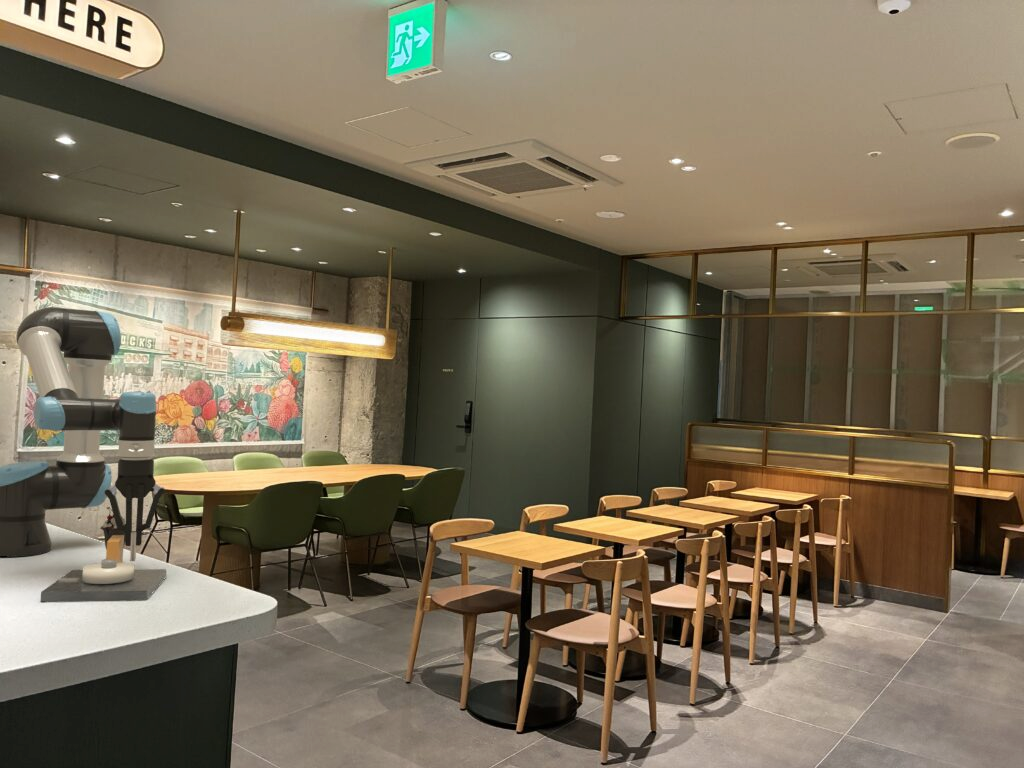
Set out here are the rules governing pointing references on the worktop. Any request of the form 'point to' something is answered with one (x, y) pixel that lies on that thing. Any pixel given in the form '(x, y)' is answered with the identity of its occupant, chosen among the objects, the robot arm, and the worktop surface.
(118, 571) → the dial
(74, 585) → the panel
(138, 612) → the worktop surface
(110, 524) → the sundae
